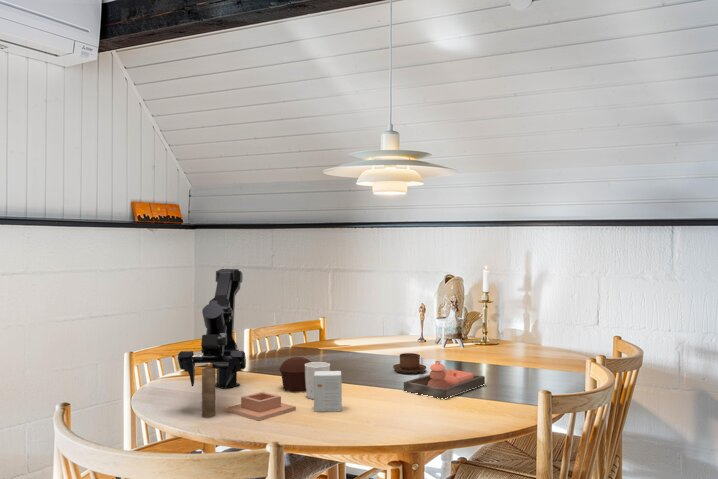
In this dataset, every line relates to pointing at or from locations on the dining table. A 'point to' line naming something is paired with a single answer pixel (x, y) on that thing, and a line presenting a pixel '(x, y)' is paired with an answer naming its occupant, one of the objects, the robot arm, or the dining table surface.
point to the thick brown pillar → (208, 392)
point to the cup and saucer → (409, 363)
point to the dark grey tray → (421, 388)
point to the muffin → (294, 374)
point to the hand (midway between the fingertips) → (209, 385)
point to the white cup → (309, 375)
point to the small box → (327, 391)
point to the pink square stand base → (260, 406)
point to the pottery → (447, 376)
